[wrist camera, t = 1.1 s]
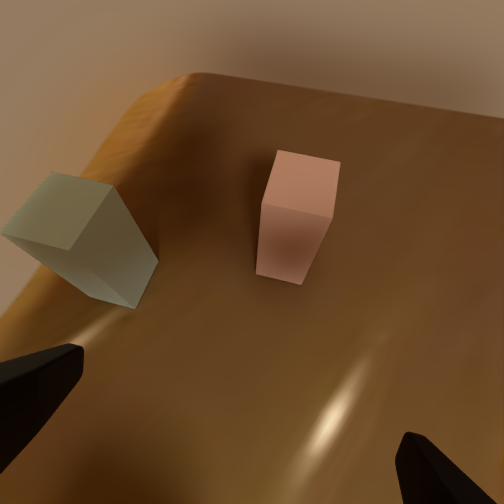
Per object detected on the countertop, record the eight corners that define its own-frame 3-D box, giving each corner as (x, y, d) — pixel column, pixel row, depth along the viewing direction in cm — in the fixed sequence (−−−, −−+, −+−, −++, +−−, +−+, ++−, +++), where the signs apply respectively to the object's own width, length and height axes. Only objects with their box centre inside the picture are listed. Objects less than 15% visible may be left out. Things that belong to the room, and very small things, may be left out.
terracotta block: (301, 285, 23) (332, 218, 15) (255, 273, 24) (261, 202, 15) (309, 241, 25) (340, 162, 17) (267, 232, 26) (278, 150, 18)
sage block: (135, 309, 22) (68, 250, 14) (90, 296, 22) (-2, 232, 14) (158, 261, 24) (113, 185, 16) (116, 250, 24) (51, 171, 16)
